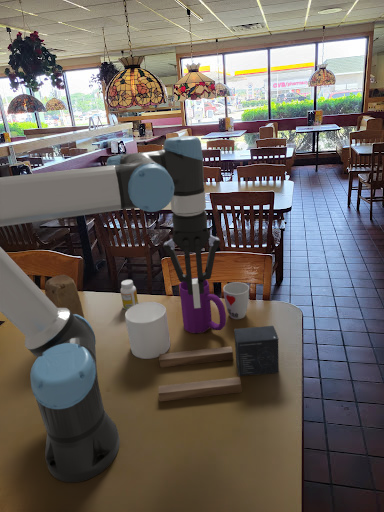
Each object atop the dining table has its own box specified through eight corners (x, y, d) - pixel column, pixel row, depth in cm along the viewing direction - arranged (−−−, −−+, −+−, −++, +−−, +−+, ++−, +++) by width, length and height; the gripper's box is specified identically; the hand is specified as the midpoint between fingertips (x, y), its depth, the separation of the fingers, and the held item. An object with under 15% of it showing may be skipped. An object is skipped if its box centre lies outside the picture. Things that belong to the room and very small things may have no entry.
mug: (195, 315, 126) (191, 274, 121) (234, 329, 117) (232, 286, 111) (177, 328, 120) (172, 286, 114) (217, 344, 111) (214, 299, 105)
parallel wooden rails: (241, 392, 92) (241, 384, 92) (159, 401, 92) (158, 393, 91) (231, 353, 106) (231, 346, 105) (160, 361, 106) (159, 354, 105)
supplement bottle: (133, 300, 139) (129, 277, 135) (141, 306, 135) (137, 281, 131) (120, 306, 136) (116, 282, 132) (128, 312, 132) (124, 287, 128)
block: (90, 335, 121) (77, 279, 113) (68, 346, 116) (54, 288, 108) (73, 323, 128) (60, 270, 120) (52, 333, 123) (37, 278, 116)
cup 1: (161, 362, 106) (155, 325, 101) (124, 356, 110) (117, 320, 105) (176, 337, 116) (172, 303, 111) (141, 332, 120) (136, 299, 115)
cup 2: (220, 312, 126) (218, 286, 122) (241, 306, 129) (240, 279, 125) (233, 324, 119) (231, 296, 116) (254, 316, 122) (254, 289, 118)
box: (274, 357, 104) (273, 324, 99) (279, 373, 97) (279, 339, 93) (235, 360, 104) (233, 328, 100) (238, 376, 98) (236, 343, 94)
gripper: (216, 203, 86) (222, 295, 95) (159, 209, 86) (170, 300, 95) (220, 213, 79) (225, 310, 88) (158, 218, 79) (170, 316, 88)
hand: (197, 305), depth 92 cm, fingers closed
